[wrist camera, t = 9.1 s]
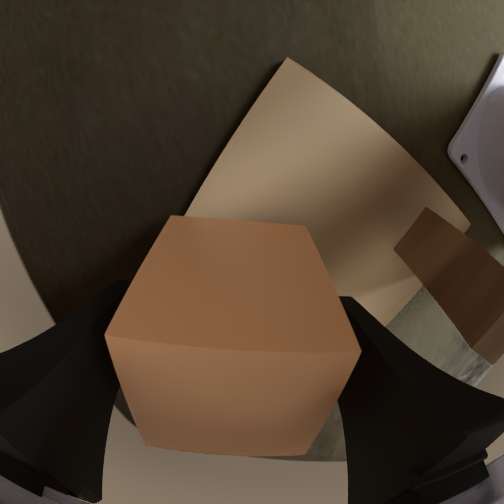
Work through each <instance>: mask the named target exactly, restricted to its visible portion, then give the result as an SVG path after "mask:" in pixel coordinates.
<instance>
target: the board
mask: <svg viewBox="0 0 504 504" xmlns="http://www.w3.org/2000/svg"><path fill="white" fill-rule="evenodd" d="M425 207H428V208H429V209H431V210H432V211H433V212H435V213H436V214H438V215H439V216H441V217H442V218H443V219H445V220H446V221H447V222H449V223H450V224H452V225H453V226H454V227H456V228H457V229H458V230H460V231H461V232H462V233H465V232H466V231H467V229H468V228H469V226H470V225H471V223H470V222H469V221H468V220H467V218H466V217H465V216H464V215H463V213H462V212H461V211H460V210H459V208H458V207H457V206H456V205H455V203H454V202H453V201H452V200H451V199H450V197H449V196H448V195H447V194H446V193H445V192H444V190H443V189H442V188H441V187H440V186H439V185H438V184H437V183H436V181H435V180H434V179H433V178H432V177H431V176H430V175H429V174H428V173H427V172H426V171H425V170H424V169H423V168H422V166H421V165H420V164H419V163H418V162H417V161H416V160H415V159H414V158H413V157H412V156H411V155H410V154H409V153H408V152H407V151H406V150H405V149H404V148H403V147H402V146H401V145H399V144H398V143H397V142H396V141H395V140H394V139H393V138H392V137H391V136H390V135H389V134H388V133H387V132H385V131H384V130H383V129H382V128H381V127H380V126H379V125H378V124H376V123H375V122H374V121H373V120H372V119H371V118H370V117H368V116H367V115H366V114H365V113H364V112H362V111H361V110H360V109H359V108H357V107H356V106H355V105H354V104H353V103H351V102H350V101H349V100H347V99H346V98H345V97H344V96H342V95H341V94H340V93H338V92H337V91H336V90H334V89H333V88H332V87H330V86H329V85H328V84H326V83H325V82H324V81H322V80H321V79H319V78H318V77H316V76H315V75H314V74H312V73H311V72H309V71H308V70H306V69H305V68H303V67H302V66H300V65H299V64H297V63H296V62H294V61H293V60H291V59H289V58H288V57H287V58H286V59H285V61H284V62H283V63H282V65H281V66H280V68H279V69H278V70H277V72H276V73H275V74H274V76H273V77H272V79H271V80H270V81H269V83H268V84H267V86H266V87H265V88H264V90H263V91H262V93H261V94H260V96H259V97H258V98H257V100H256V101H255V103H254V104H253V106H252V107H251V109H250V110H249V112H248V113H247V115H246V116H245V118H244V119H243V121H242V122H241V124H240V125H239V127H238V128H237V130H236V131H235V133H234V134H233V136H232V137H231V139H230V141H229V142H228V144H227V145H226V147H225V148H224V150H223V152H222V153H221V155H220V156H219V158H218V160H217V161H216V163H215V164H214V166H213V168H212V169H211V171H210V173H209V174H208V176H207V178H206V179H205V181H204V183H203V184H202V186H201V188H200V189H199V191H198V193H197V195H196V196H195V198H194V200H193V201H192V203H191V205H190V207H189V208H188V210H187V212H186V214H185V215H184V216H189V217H203V218H217V219H231V220H243V221H256V222H267V223H279V224H290V225H301V226H306V227H307V229H308V231H309V233H310V235H311V237H312V240H313V242H314V244H315V246H316V248H317V250H318V252H319V254H320V257H321V259H322V261H323V263H324V265H325V267H326V270H327V272H328V274H329V276H330V278H331V281H332V283H333V285H334V287H335V290H336V292H337V294H338V296H351V297H353V298H354V299H355V300H356V301H357V302H358V303H360V304H361V305H362V306H363V307H364V308H365V309H366V310H367V311H368V312H369V313H370V314H372V315H373V316H374V317H375V318H376V319H377V320H378V321H379V322H380V323H381V324H382V325H383V326H384V327H385V326H386V325H387V324H388V323H389V322H390V321H391V320H392V319H393V318H394V317H395V316H396V315H397V314H398V313H399V311H400V310H401V309H402V308H403V307H404V306H405V305H406V304H407V303H408V302H409V301H410V300H411V299H412V297H413V296H414V295H415V294H416V293H417V292H418V291H419V290H420V288H421V287H422V286H423V284H422V283H421V281H420V280H419V279H418V278H417V276H416V275H415V274H414V273H413V272H412V271H411V269H410V268H409V267H408V266H407V265H406V264H405V262H404V261H403V260H402V259H401V258H400V257H399V255H398V254H397V253H396V252H395V251H394V250H393V249H394V247H395V246H396V245H397V244H398V242H399V241H400V240H401V239H402V237H403V236H404V235H405V234H406V232H407V231H408V230H409V228H410V227H411V226H412V224H413V223H414V222H415V221H416V219H417V218H418V217H419V215H420V214H421V213H422V211H423V210H424V208H425Z"/></svg>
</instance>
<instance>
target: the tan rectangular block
mask: <svg viewBox="0 0 504 504" xmlns="http://www.w3.org/2000/svg"><path fill="white" fill-rule="evenodd" d="M105 339H106V342H107V346H108V349H109V352H110V355H111V358H112V362H113V365H114V368H115V371H116V374H117V377H118V379H119V382H120V385H121V388H122V390H123V393H124V396H125V398H126V401H127V404H128V406H129V409H130V411H131V414H132V416H133V418H134V421H135V423H136V426H137V428H138V430H139V432H140V435H141V437H142V439H143V441H144V443H145V445H146V446H151V447H158V448H163V449H170V450H178V451H185V452H194V453H204V454H217V455H234V456H288V455H305V454H306V452H307V451H308V449H309V448H310V446H311V444H312V443H313V441H314V440H315V438H316V436H317V435H318V433H319V431H320V430H321V428H322V426H323V425H324V423H325V421H326V419H327V418H328V416H329V414H330V412H331V411H332V409H333V407H334V405H335V403H336V402H337V400H338V398H339V396H340V394H341V392H342V390H343V389H344V387H345V385H346V383H347V381H348V379H349V377H350V375H351V373H352V371H353V369H354V367H355V365H356V363H357V361H358V358H359V356H360V354H361V352H362V351H361V348H360V346H359V344H358V341H357V339H356V336H355V334H354V331H353V329H352V327H351V324H350V322H349V319H348V317H347V315H346V312H345V310H344V308H343V305H342V303H341V301H340V299H339V296H338V294H337V292H336V290H335V287H334V285H333V283H332V281H331V278H330V276H329V274H328V272H327V270H326V267H325V265H324V263H323V261H322V259H321V257H320V254H319V252H318V250H317V248H316V246H315V244H314V242H313V240H312V237H311V235H310V233H309V231H308V229H307V227H306V226H301V225H290V224H279V223H267V222H256V221H243V220H231V219H217V218H203V217H189V216H173V215H171V216H170V218H169V220H168V221H167V223H166V224H165V226H164V228H163V229H162V231H161V233H160V234H159V236H158V237H157V239H156V241H155V243H154V244H153V246H152V248H151V249H150V251H149V253H148V254H147V256H146V258H145V260H144V261H143V263H142V265H141V267H140V268H139V270H138V272H137V274H136V275H135V277H134V279H133V281H132V283H131V284H130V286H129V288H128V290H127V292H126V294H125V296H124V297H123V299H122V301H121V303H120V305H119V307H118V309H117V311H116V313H115V315H114V317H113V319H112V321H111V323H110V324H109V326H108V328H107V330H106V333H105Z"/></svg>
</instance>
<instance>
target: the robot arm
mask: <svg viewBox="0 0 504 504" xmlns="http://www.w3.org/2000/svg"><path fill="white" fill-rule="evenodd" d="M447 152H448V156H449V158H450V159H451V160H452V161H453V163H454V164H455V165H456V166H457V168H458V169H459V170H460V172H461V173H462V174H463V175H464V177H465V178H466V179H467V181H468V182H469V183H470V185H471V186H472V187H473V189H474V190H475V192H476V193H477V194H478V196H479V197H480V199H481V200H482V202H483V203H484V204H485V206H486V207H487V209H488V210H489V212H490V214H491V215H492V217H493V218H494V220H495V221H496V223H497V225H498V226H499V228H500V230H501V231H502V233H503V235H504V53H501V54H500V55H499V57H498V59H497V61H496V63H495V65H494V67H493V69H492V71H491V73H490V75H489V77H488V79H487V81H486V83H485V84H484V86H483V88H482V90H481V92H480V94H479V95H478V97H477V99H476V101H475V102H474V104H473V106H472V108H471V109H470V111H469V113H468V114H467V116H466V118H465V119H464V121H463V123H462V124H461V126H460V128H459V129H458V131H457V132H456V134H455V136H454V137H453V139H452V140H451V142H450V143H449V146H448V150H447ZM462 154H463V160H462V161H461V156H462ZM131 283H132V281H122V280H117V281H116V282H114V283H113V284H111V285H110V286H108V287H107V288H106V289H104V290H103V291H102V292H100V293H99V294H98V295H96V296H95V297H94V298H92V299H91V300H90V301H88V302H87V303H86V304H84V305H83V306H82V307H80V308H79V309H78V310H76V311H75V312H73V313H72V314H71V315H69V316H68V317H66V318H65V319H63V320H62V321H61V322H59V323H58V324H56V325H55V326H53V327H51V328H50V329H48V330H47V331H45V332H43V333H41V334H40V335H38V336H36V337H34V338H33V339H30V340H29V341H26V342H24V343H22V344H20V345H18V346H16V347H14V348H12V349H10V350H7V351H5V352H2V353H0V504H90V503H97V502H99V501H100V500H102V476H103V464H104V454H105V447H106V440H107V434H108V428H109V423H110V418H111V414H112V409H113V405H114V402H115V398H116V395H117V393H118V390H119V387H120V382H119V379H118V377H117V374H116V371H115V368H114V365H113V362H112V358H111V355H110V352H109V349H108V346H107V342H106V339H105V333H106V330H107V328H108V326H109V324H110V323H111V321H112V319H113V317H114V315H115V313H116V311H117V309H118V307H119V305H120V303H121V301H122V299H123V297H124V296H125V294H126V292H127V290H128V288H129V286H130V284H131ZM339 299H340V301H341V303H342V305H343V308H344V310H345V312H346V315H347V317H348V319H349V322H350V324H351V327H352V329H353V331H354V334H355V336H356V339H357V341H358V344H359V346H360V348H361V351H362V352H361V354H360V356H359V358H358V361H357V363H356V365H355V367H354V369H353V371H352V373H351V375H350V377H349V379H348V381H347V383H346V385H345V387H344V389H343V390H342V392H341V394H340V396H339V398H338V400H337V401H338V404H339V408H340V412H341V417H342V422H343V429H344V436H345V444H346V454H347V465H348V466H347V468H348V504H504V455H502V456H501V457H499V458H497V459H495V460H494V461H492V462H491V463H489V464H488V465H485V463H484V459H486V458H487V457H488V454H487V452H486V448H487V447H488V446H489V445H490V444H491V443H493V442H494V441H495V440H496V439H497V438H498V437H499V436H500V435H501V434H502V433H503V432H504V398H502V397H499V396H496V395H493V394H490V393H487V392H485V391H482V390H479V389H477V388H475V387H473V386H470V385H468V384H466V383H464V382H462V381H460V380H458V379H456V378H454V377H452V376H451V375H449V374H447V373H445V372H444V371H442V370H440V369H439V368H437V367H435V366H434V365H432V364H431V363H429V362H428V361H427V360H425V359H424V358H422V357H421V356H419V355H418V354H417V353H415V352H414V351H413V350H411V349H410V348H409V347H408V346H406V345H405V344H404V343H403V342H402V341H400V340H399V339H398V338H397V337H396V336H395V335H393V334H392V333H391V332H390V331H389V330H388V329H387V328H386V327H384V326H383V325H382V324H381V323H380V322H379V321H378V320H377V319H376V318H375V317H374V316H373V315H372V314H370V313H369V312H368V311H367V310H366V309H365V308H364V307H363V306H362V305H361V304H360V303H358V302H357V301H356V300H355V299H354V298H353V297H351V296H339ZM68 495H70V496H72V497H70V496H68ZM73 497H75V498H73ZM76 498H79V499H82V500H84V501H88V502H90V503H87V502H84V501H81V500H78V499H76Z"/></svg>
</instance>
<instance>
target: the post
mask: <svg viewBox="0 0 504 504" xmlns="http://www.w3.org/2000/svg"><path fill="white" fill-rule="evenodd" d="M393 250H394V251H395V252H396V253H397V254H398V255H399V257H400V258H401V259H402V260H403V261H404V262H405V264H406V265H407V266H408V267H409V268H410V269H411V271H412V272H413V273H414V274H415V275H416V276H417V278H418V279H419V280H420V281H421V283H422V284H423V285H424V286H425V287H426V289H427V290H428V291H429V292H430V294H431V295H432V296H433V297H434V299H435V300H436V301H437V302H438V304H439V305H440V306H441V308H442V309H443V310H444V312H445V313H446V314H447V315H448V317H449V318H450V319H451V321H452V322H453V324H454V325H455V326H456V328H457V329H458V330H459V332H460V333H461V335H462V336H463V337H464V339H465V340H466V342H467V343H468V344H469V346H470V347H471V349H473V350H474V351H475V352H477V353H478V354H479V355H481V356H482V357H483V358H485V359H486V360H487V361H488V362H490V363H491V364H492V365H493V364H494V363H495V362H496V361H497V360H498V359H499V358H500V357H501V356H502V355H503V353H504V266H503V265H501V264H500V263H499V262H498V261H497V260H496V259H494V258H493V257H492V256H491V255H490V254H489V253H487V252H486V251H485V250H484V249H482V248H481V247H480V246H479V245H478V244H476V243H475V242H474V241H473V240H471V239H470V238H469V237H467V236H466V235H465V234H464V233H462V232H461V231H460V230H458V229H457V228H456V227H454V226H453V225H452V224H450V223H449V222H447V221H446V220H445V219H443V218H442V217H441V216H439V215H438V214H436V213H435V212H433V211H432V210H431V209H429V208H428V207H425V208H424V210H423V211H422V213H421V214H420V215H419V217H418V218H417V219H416V221H415V222H414V223H413V224H412V226H411V227H410V228H409V230H408V231H407V232H406V234H405V235H404V236H403V237H402V239H401V240H400V241H399V242H398V244H397V245H396V246H395V247H394V249H393Z"/></svg>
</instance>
